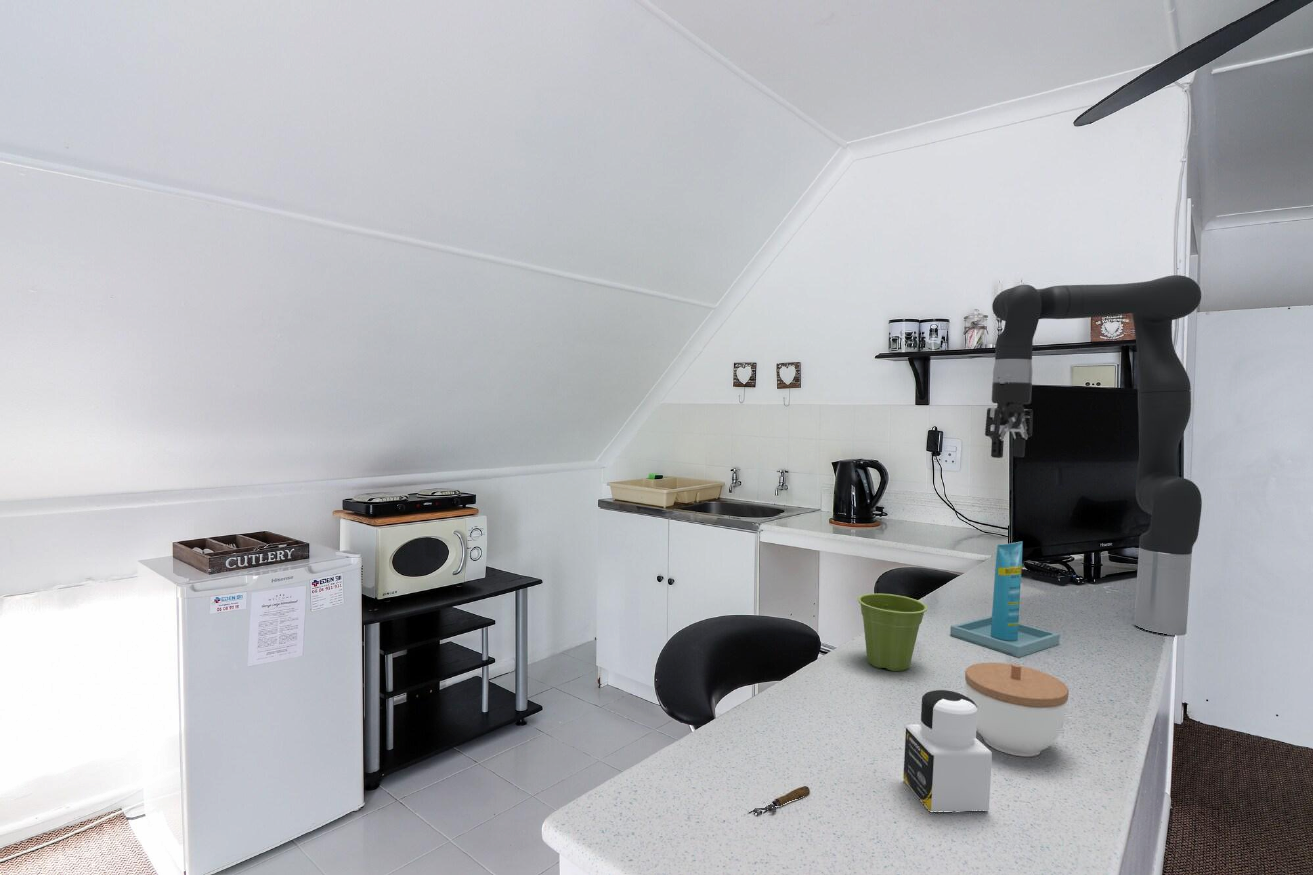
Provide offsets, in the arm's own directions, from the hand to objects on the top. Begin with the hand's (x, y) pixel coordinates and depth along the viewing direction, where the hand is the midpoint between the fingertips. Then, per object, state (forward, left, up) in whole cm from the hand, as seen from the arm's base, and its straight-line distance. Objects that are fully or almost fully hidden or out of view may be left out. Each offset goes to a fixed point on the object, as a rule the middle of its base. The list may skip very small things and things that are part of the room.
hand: (1007, 457), depth 150 cm
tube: (+10, +7, -36) cm, 38 cm away
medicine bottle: (+72, +35, -36) cm, 88 cm away
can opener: (+90, +26, -37) cm, 100 cm away
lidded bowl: (+52, +32, -36) cm, 71 cm away
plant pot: (+42, +4, -36) cm, 56 cm away
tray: (+10, +7, -36) cm, 38 cm away
